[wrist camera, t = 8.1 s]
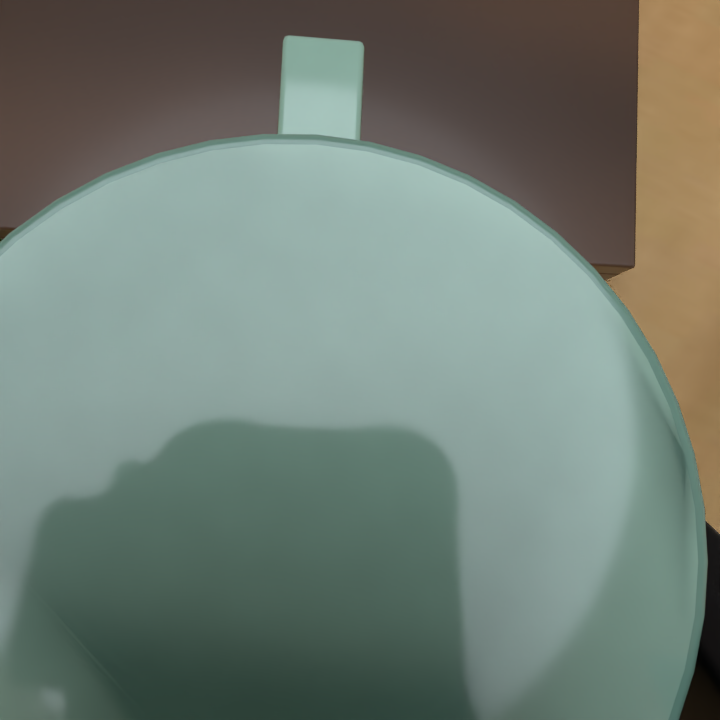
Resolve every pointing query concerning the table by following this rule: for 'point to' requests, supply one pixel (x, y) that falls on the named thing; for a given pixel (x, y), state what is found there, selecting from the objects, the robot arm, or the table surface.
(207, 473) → the green mug
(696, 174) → the table surface
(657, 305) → the table surface
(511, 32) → the shelf
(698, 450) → the table surface
